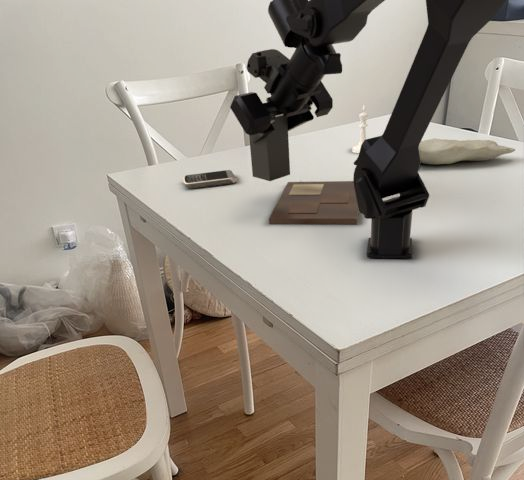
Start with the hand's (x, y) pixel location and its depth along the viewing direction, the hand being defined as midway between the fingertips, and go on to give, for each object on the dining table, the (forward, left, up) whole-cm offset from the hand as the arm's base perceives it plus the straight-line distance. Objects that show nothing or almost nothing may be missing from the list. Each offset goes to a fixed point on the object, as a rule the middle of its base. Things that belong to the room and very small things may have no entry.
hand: (264, 137), depth 97 cm
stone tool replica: (+23, -35, -12) cm, 43 cm away
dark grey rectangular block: (-1, -1, -7) cm, 7 cm away
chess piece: (+34, -16, -12) cm, 39 cm away
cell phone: (+11, +15, -12) cm, 22 cm away
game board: (-2, -10, -11) cm, 15 cm away
